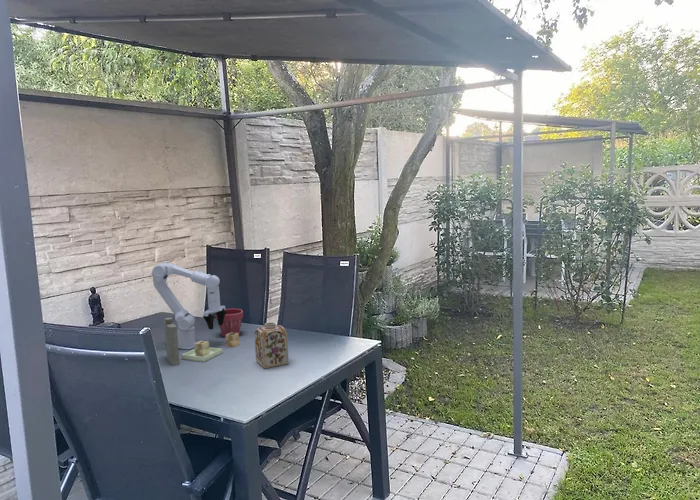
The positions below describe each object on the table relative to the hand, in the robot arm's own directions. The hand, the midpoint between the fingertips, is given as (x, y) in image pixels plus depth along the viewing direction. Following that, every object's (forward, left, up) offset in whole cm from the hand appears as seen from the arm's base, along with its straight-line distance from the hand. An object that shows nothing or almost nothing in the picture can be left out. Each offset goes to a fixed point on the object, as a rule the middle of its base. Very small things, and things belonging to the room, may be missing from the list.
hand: (215, 327), depth 257 cm
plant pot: (-5, +18, -10) cm, 21 cm away
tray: (+4, -16, -9) cm, 19 cm away
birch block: (+4, -16, -9) cm, 19 cm away
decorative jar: (+41, -14, -10) cm, 44 cm away
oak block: (+8, +2, -10) cm, 13 cm away
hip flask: (-6, -25, -10) cm, 27 cm away
